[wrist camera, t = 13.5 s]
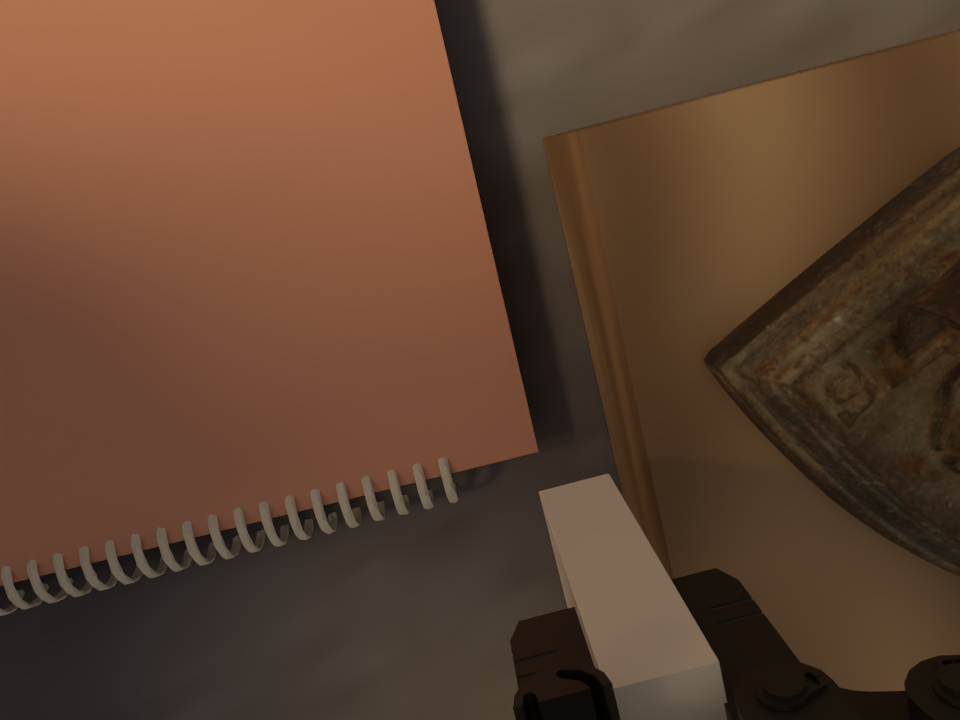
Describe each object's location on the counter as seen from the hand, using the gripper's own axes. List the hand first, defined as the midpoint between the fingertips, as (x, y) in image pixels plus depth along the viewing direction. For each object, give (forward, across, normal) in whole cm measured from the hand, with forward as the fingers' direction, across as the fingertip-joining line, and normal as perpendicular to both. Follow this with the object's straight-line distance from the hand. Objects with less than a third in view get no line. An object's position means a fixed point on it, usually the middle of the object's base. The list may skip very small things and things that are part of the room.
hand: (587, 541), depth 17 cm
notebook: (+7, -14, +8) cm, 17 cm away
